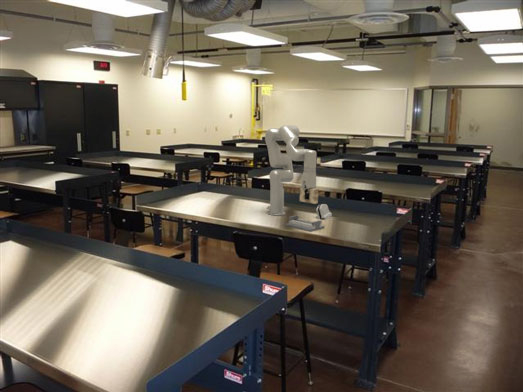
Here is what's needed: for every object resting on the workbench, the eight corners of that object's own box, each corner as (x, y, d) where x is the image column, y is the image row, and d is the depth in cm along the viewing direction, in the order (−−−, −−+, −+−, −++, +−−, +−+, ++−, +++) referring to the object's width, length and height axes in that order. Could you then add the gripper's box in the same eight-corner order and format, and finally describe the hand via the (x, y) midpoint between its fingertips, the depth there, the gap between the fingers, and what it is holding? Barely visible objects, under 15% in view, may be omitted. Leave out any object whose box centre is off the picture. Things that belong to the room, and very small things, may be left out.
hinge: (325, 219, 305) (321, 205, 304) (319, 221, 307) (314, 207, 307) (332, 215, 320) (328, 201, 319) (326, 216, 322) (322, 203, 322)
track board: (285, 225, 287) (285, 217, 286) (299, 222, 296) (299, 214, 296) (310, 231, 273) (310, 223, 272) (324, 228, 283) (324, 219, 282)
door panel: (299, 201, 288) (300, 187, 287) (302, 200, 290) (303, 186, 289) (314, 203, 280) (315, 189, 279) (317, 203, 282) (318, 189, 281)
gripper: (312, 168, 290) (311, 196, 293) (296, 170, 278) (295, 199, 281) (322, 169, 285) (321, 198, 288) (306, 171, 273) (305, 201, 276)
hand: (308, 198), depth 285 cm, fingers closed on door panel, 3 cm apart
